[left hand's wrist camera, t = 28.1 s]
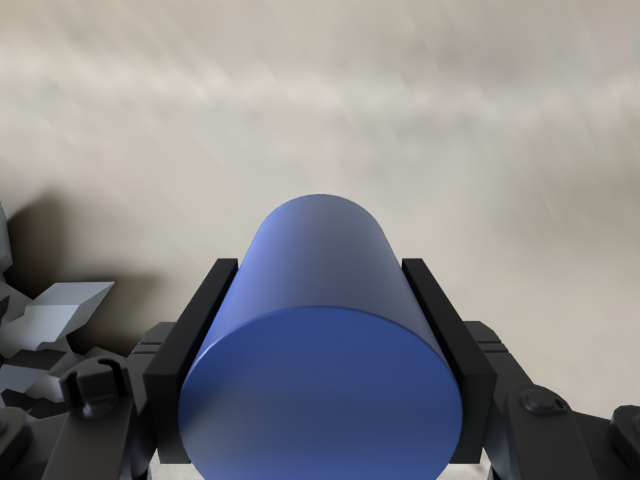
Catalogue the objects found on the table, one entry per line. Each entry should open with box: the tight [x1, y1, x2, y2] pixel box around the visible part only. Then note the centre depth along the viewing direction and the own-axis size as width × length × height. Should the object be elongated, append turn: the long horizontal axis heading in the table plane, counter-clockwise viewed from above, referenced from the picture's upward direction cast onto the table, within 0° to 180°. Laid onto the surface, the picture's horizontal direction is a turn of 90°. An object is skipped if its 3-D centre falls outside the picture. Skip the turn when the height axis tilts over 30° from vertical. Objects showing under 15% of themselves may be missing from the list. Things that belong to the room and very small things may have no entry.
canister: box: [178, 194, 463, 480], centre depth 13 cm, size 6×6×9 cm
